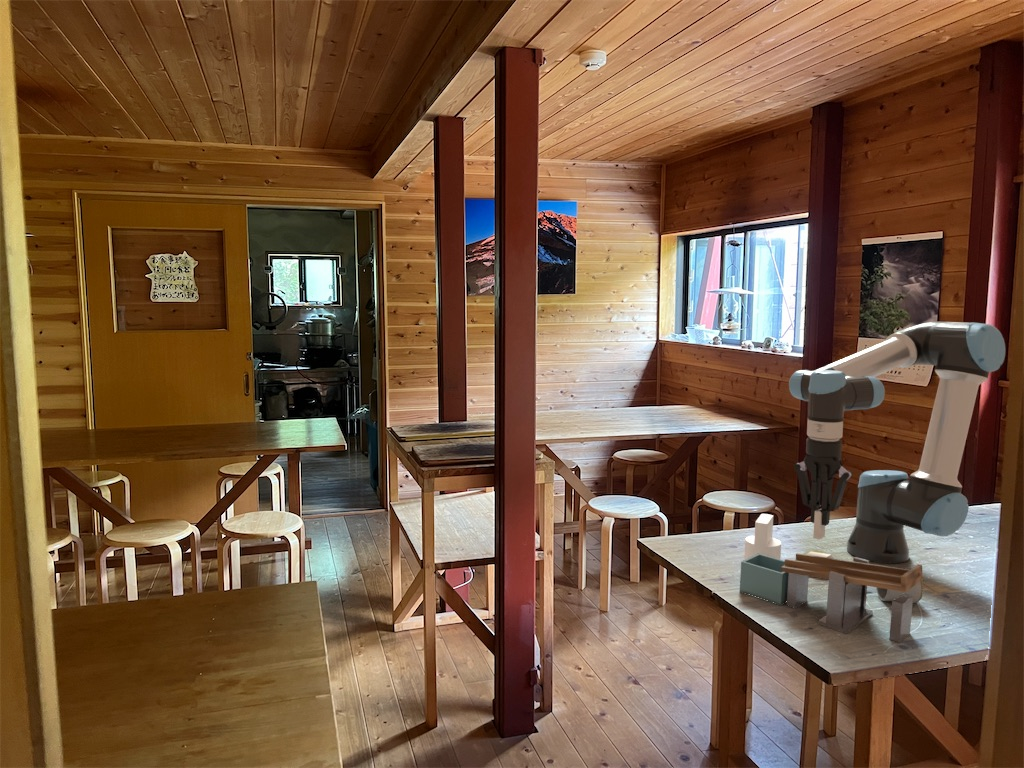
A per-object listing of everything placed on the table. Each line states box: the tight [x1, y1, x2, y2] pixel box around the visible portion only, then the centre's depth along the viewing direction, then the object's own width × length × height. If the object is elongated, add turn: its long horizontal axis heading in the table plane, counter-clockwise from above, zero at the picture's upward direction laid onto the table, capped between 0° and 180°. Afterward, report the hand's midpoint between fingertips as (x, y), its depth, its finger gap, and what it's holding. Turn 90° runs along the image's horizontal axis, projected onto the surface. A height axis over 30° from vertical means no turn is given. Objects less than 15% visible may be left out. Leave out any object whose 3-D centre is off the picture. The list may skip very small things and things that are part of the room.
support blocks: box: [786, 556, 914, 644], centre depth 159 cm, size 14×24×12 cm, turn 44°
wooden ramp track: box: [781, 552, 924, 592], centre depth 161 cm, size 15×26×3 cm, turn 44°
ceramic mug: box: [876, 579, 924, 604], centre depth 172 cm, size 11×8×8 cm
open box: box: [739, 553, 789, 606], centre depth 173 cm, size 8×10×8 cm
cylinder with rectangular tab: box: [743, 513, 782, 561], centre depth 193 cm, size 9×9×12 cm
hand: (819, 537), depth 171 cm, fingers closed
